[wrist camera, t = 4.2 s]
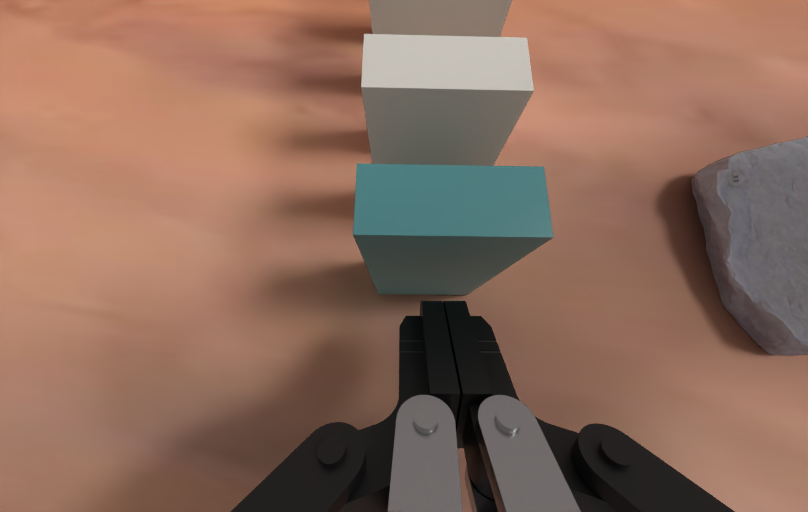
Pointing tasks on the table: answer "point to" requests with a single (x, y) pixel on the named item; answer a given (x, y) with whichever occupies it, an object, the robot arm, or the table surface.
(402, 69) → the domino
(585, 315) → the table surface
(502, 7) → the domino
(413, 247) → the domino
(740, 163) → the stone block
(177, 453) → the table surface
